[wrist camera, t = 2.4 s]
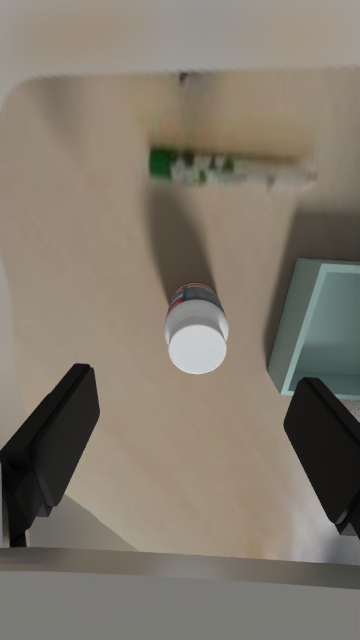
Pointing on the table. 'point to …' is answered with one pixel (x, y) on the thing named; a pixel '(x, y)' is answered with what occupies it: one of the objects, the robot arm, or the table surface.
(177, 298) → the pill bottle
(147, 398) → the table surface
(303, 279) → the bin
